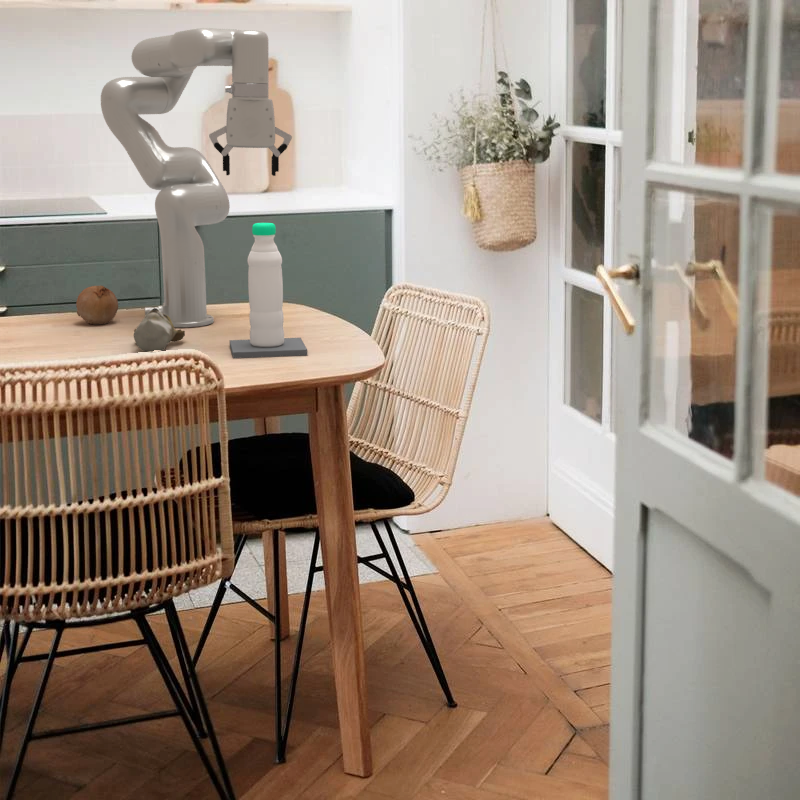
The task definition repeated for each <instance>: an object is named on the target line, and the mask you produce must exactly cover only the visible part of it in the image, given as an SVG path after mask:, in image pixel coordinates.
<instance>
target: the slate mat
mask: <svg viewBox="0 0 800 800" xmlns="http://www.w3.org/2000/svg"><path fill="white" fill-rule="evenodd" d="M229 349H230V352H231V355H232V358H233V359H245V358H246V359H248V358H249V359H251V358H275V357H277V358H278V357H301V356H308V348H307V346H306V344H305V343H304V341H303V340H302V337H284V343H283V344H282V345H280V346H276V347H256V346H253V345H252V344H251V343H250V338H249V339H230V340H229Z"/></svg>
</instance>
